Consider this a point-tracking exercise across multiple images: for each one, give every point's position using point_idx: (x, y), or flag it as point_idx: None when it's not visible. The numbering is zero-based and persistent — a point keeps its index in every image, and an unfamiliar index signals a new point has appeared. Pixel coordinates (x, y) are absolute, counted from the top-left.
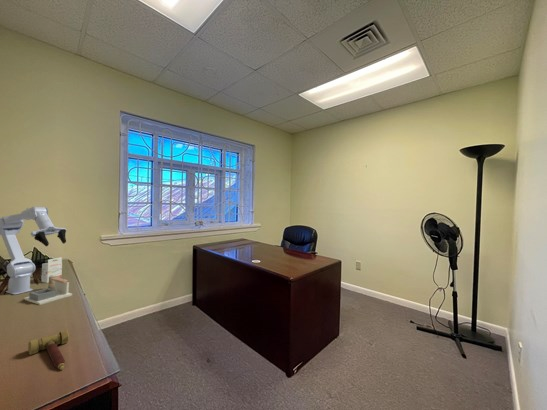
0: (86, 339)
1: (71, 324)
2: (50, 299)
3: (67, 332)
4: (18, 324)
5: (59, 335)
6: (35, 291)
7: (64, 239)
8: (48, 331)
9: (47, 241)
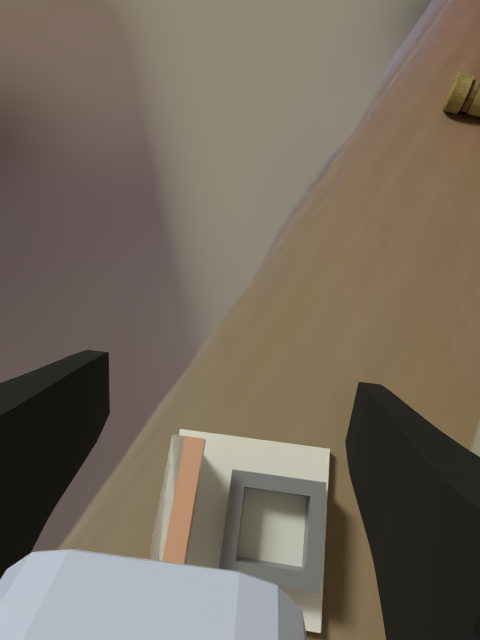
0: (415, 76)
1: (382, 169)
2: (279, 448)
3: (460, 72)
4: (470, 314)
5: (476, 80)
6: (290, 583)
7: (87, 359)
8: (442, 184)
9: (382, 398)
